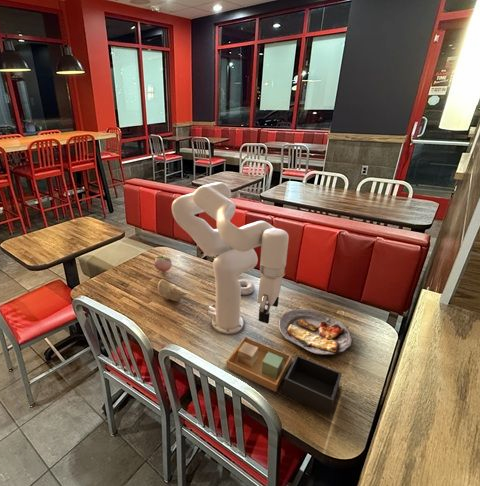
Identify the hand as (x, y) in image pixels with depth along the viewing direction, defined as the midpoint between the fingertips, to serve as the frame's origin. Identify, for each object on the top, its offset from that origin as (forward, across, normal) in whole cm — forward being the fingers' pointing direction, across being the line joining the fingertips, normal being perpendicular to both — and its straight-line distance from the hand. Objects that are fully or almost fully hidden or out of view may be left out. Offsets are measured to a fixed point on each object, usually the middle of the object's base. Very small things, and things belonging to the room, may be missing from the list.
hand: (268, 313), depth 102 cm
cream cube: (+17, +7, -4) cm, 18 cm away
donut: (+17, -33, -21) cm, 43 cm away
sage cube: (+17, +7, +5) cm, 19 cm away
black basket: (+17, +9, +17) cm, 26 cm away
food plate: (+17, -18, +13) cm, 28 cm away
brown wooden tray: (+17, +7, 0) cm, 18 cm away
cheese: (+17, -13, -46) cm, 50 cm away
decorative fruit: (+17, -30, -64) cm, 73 cm away
